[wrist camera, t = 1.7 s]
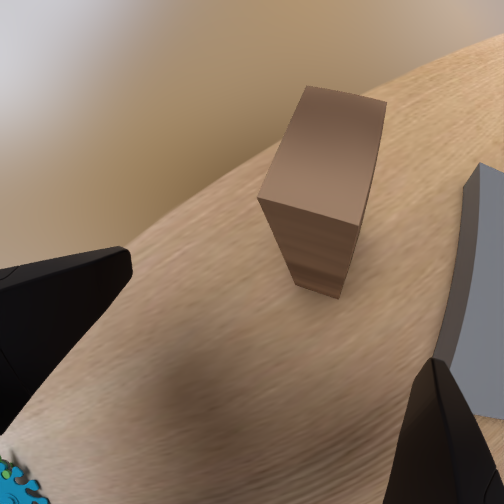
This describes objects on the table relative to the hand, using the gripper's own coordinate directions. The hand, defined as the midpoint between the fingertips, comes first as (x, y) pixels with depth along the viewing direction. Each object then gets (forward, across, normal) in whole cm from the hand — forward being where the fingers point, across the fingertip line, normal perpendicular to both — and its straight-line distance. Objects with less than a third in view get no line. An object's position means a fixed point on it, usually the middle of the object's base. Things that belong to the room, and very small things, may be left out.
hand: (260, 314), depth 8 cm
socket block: (+13, -16, +4) cm, 21 cm away
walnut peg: (+12, 0, +4) cm, 13 cm away
